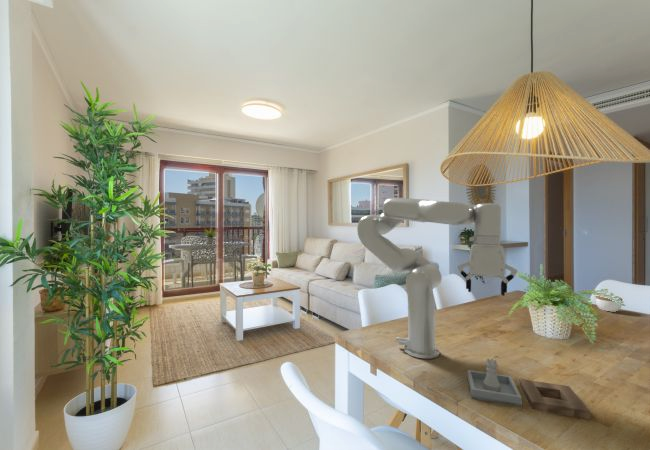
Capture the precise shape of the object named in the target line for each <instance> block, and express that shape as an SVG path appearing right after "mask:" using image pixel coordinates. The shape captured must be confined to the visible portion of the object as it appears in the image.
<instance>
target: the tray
mask: <svg viewBox="0 0 650 450" xmlns="http://www.w3.org/2000/svg"><path fill="white" fill-rule="evenodd" d="M486 374H487V371H486V372H485V371H479V370H478V371H477V370H472V369H471V370H470V369H467V381H468V384H469V385H468V386H469V390H470V394H471V399H473V400H474V399H475V400H481V401H486V402H490V403H491V402H492V403H497V404H502V405H508V406H514V407H520V408H522V405H523V404H522V403H523V401H522V399H523V398H522V395H521V394H520V391H519V390H518V388H517V385H516V384H515V381H514V379H513V378H512V376H511V375H505V374H499V373H496V374H497V379H498V381H499V383H500V388H501V390H500V391H499V392H495V391H489V390H486V389H485V388H484V386H483V384H484V383H483V381H484V380H485V378H486Z"/></svg>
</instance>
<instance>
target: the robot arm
mask: <svg viewBox="0 0 650 450" xmlns="http://www.w3.org/2000/svg"><path fill="white" fill-rule="evenodd" d="M501 215H502V207H501V205H500V204H498V203H495V202H494V203H493V202H490V203H478V204H469V203H464V202H457V201H456V202H455V201H439V200H431V199H430V200H429V199H423V198H422V199H421V198H407V197H406V198H405V197H390V198H387V199H386V200H385V201H384V202H383V204H382V213H381V214H370V215H368V214H367V215H365V216H362V217H361V218H360V219H359V221H358V224H357V229H356V231H357V236H358V239H359V241H360V243H361V244H362V245H363V246H364V248H366V249H367V250H368V251H369V252H370V253H372V255H374V256H375V257H376V258H377V259H378V260H379V261H381V262H382V263H383V264H384V265H385V266H387V267H388V268H389V269H390V270H391V271H392V272H394V273H395V274H404V273H407V274H406V278H405V287H406V288H405V289H406V293H407V295H406V296H407V331H408V333H407V337H406V336H404V337H399V336H396V338H395V339H396V340H395V341H396V343H398V344H399V345H401V346H404V347H403V350H404V352H405V353H406V354H407V355H409V356H411V357H413V358H418V359H426V360H427V359H428V360H429V359H435V358H437V357H439V356H440V349H439V348H438V347H437V346H436V327H435V325H436V324H435V323H436V318H435V317H436V311H435V310H436V309H435V308H436V307H435V297H434V292H433V291H434V290H433V289H436V288H438V286H439V285H440V284H441V282H442V279H443V278H442V274H441V270H440V269H439V268H438V266H437V267H436V266H435V264H433V263H431V261H429V260H428V259H427V258H426V257H424V256H423V255H421V254H420V253H419V252H417V251H416V250H414V249H413V248H400V247H399V246H397V245H396V244H394V243H393V242H392V241H391V240H390V239H388V238H387V237H385V236H383V235H386V234H388V233H390V232H391V231H392V230H394V229H395V228H397V226H399V225H400V224H402V223H403V222H404V221H409V222H410V221H411V222H417V223H433V224H441V225H442V224H443V225H451V226H471V225H474V226H473V227H474V229H473V231H474V233H473V234H474V235H473V236H469V240H468V241H469V242H473V244H471V247H470V250H469V251H470V252H469V260H468V261H466V262H462V263H461V264H459V265H457V269H458V271H459V273H460V274H461V275H460V276H462V277H463V278H464V279H465V281H466V282H465V289H466V290H468V293H471V292H472V279H471V278H473V276H477V277H478V276H479V277H490V278H491V277H493V278H500V279H501V282H500V294H501V296H502V297H503V296H504V297H505V294H506V293H507V291H508V283H510V282H511V280H513V279H514V278H515V276H516V274H517V273H518V269H517V268H514V267H512V266H510V265H509V264H506V263H505V262H506V261H505V260H506V259H505V250H504V246H503V245H501V226H502V225H501V219H502V218H501ZM466 267H468V270H469V272H468V273H466V271H465V270H464V268H466ZM506 270H508V271H510V273H509V274H508V275H506V277H505V273H506Z"/></svg>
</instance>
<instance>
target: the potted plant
mask: <svg viewBox="0 0 650 450" xmlns="http://www.w3.org/2000/svg"><path fill="white" fill-rule="evenodd" d="M594 297H595V303H596V306H597V307H598V309H600V310H601V309H602V310H606V311H615V312H616V311H617V312H619V311H620V310H621V308H622V306H621V305H619V304H618V303H616V302H615V301H612V300H610V299H608V298H604V297H600V296H594ZM617 297H618V298H619V299H620V300H621V301H622V302H623V297H621V296H620V297H619V296H617ZM602 310H601V311H602ZM617 312H616V313H617Z"/></svg>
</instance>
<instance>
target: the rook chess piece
mask: <svg viewBox="0 0 650 450" xmlns="http://www.w3.org/2000/svg"><path fill="white" fill-rule="evenodd" d="M497 362H498V361H497V360H496V359H494V360H493V358H487V359H486V361H485V362H484V364H485V365H486V367H485V370H486V373H487V374H486V378H485V380H484V381H483V383H484V384H483V386H484V388H485V389H486V390H489V391H495V392H499V391H500V390H501V388H500V383H499V381H498V379H497V374H498V369H497V368H498V366H499V365H498V363H497Z"/></svg>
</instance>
